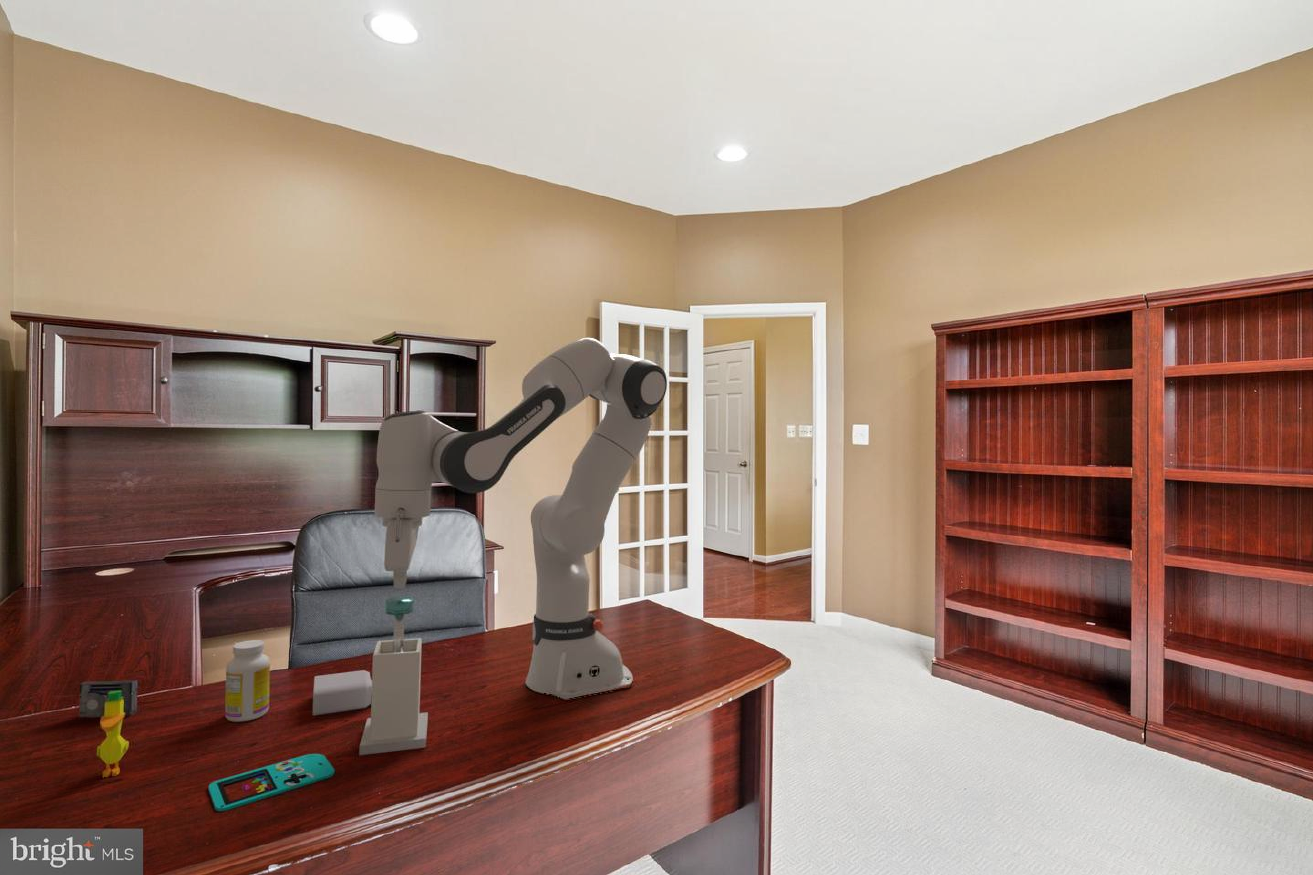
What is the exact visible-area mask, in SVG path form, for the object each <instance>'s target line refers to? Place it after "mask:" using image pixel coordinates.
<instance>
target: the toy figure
mask: <svg viewBox="0 0 1313 875" xmlns="http://www.w3.org/2000/svg"><path fill="white" fill-rule="evenodd" d="M121 693H122V691H121V690H118V691H112V692H109V693H108V697H109V699H106V700H105V701H106V702H105V712H104V716H102V717H100V721H99V723H100V725H99V726H100V728H101V729H102V730H103V731H104V732H105V734H106V738H105V739H104V740H103V741H102V742H101V744H100V745H99V746H97V747H96V757H99V758H100V759H101V760H102V761H103V762H104V763H105V764H106V765H105V766H106V767H105V768H106V769H104V770H103V771H102V778H103V779H104V777H106V778H109V777H110V776H112V777H116V776H118V775H119V774H120V773H121V772H120V771H121V770H120V767H119V761H121V759H122V758H123V756H124V755H125V753H126V752H127V751H128V749H129V746H130V741H128V740H126V739H125V738H123V737H122V736H121V730H122V725H123V720H124V718H125V717H126V716H125V713H124V712H123V708H124V700H123V698H124V697H122V696H121ZM113 764H114V768H112V769H111V767H110V766H111V765H113Z"/></svg>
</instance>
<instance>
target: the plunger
mask: <svg viewBox="0 0 1313 875" xmlns="http://www.w3.org/2000/svg"><path fill="white" fill-rule="evenodd" d="M414 600H415V599H414V597H412V596H408V595H407V596H406V595H405V596H404V595H402V596H392V597H389V598H387V599H385V614H386V615H390V616H393V617H394V618H393V640H394V641H393V653H396V652H403V644H404V639H405V636H404V635H405V634H404V633H405V615H407V614H412V613H413V612H414Z"/></svg>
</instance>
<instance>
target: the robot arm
mask: <svg viewBox="0 0 1313 875" xmlns="http://www.w3.org/2000/svg"><path fill="white" fill-rule="evenodd" d="M667 382H668V380H667V375H666V372H665V371H664V369H663V368H662V367H661V366H660V365H658V364H657V363H655V362H653V361H651V360H649V359H642V358H640V357H636V356H633V355H630V354H623V353H622V354H621V353H620V354H619V353H610V352H609V350H608V348H607V347H606V346H605V345H604V344H603V343H602V342H600V341H599V340H597V339H595V338H594V337H593V338H592V337H582V338H580V339H578V340H575V341H573V342H571V343H569V344H567V345H564V346H562V347H561V348H559V349H557V350H556V351H554V352H553V353H551V354H549V355H548V356H546V357H545V358H544V359H542V360H541V361H540V362H538V363H537V364H536V365H535V366H534V367H532V369H531V370H529V372H528V373H527V374H526V375H524V377H523V379H522V384H521V392H522V396H523V399H522V400H521V401H520V403H519V404H518V405H516V406H514V407H513V408H512V409H511V410H510V411H508V412H507V413H506V414H504V416H502V417H501V418H500V419H498V420H497V421H496V422H495V423H494V424H492V425H491V426H489V427H487V428H485V429H482V430H477V431H471V432H466V431H459V430H458V429H455V428H453V427H451V426H449V425H447V424H445V423H443V422H441V421H440V420H439V419H437V418H435V417H434V416H433V415H431V414H430V413H429V411H426V410H413V411H411V410H410V411H403V412H395V413H391V414H389V415H387V416H386V417H385V418H384V419H383V420H382V422H381V425H380V427H379V432H378V439H377V450H376V465H377V469H378V477H377V480H376V484H375V493H374V494H375V495H374V497H375V498H374V500H375V501H374V516H375V517H376V518H381V519H382V522H381V524H382V525H381V526H382V527H386V529H385V530H386V531H385V542H384V545H385V546H384V559H383V560H384V562H383V563H384V570H385V571H386V572H393V573H392V574H393V588H395V589H404V588H405V587H406V584H407V573H408V570H409V569H410V564H411V561H412V558H413V554H414V551H415V549H416V545H417V540H418V536H419V535H418V534H419V527H420V526H422V525H423V518H426V517H429V516H431V507H432V505H431V502H432V500H431V499H432V486H433V485H432V484H434V483H435V482H440V483H443V484H444V485H445V484H446V485H448V486H451V487H454V488H455V489H457V490H459V491H461V492H463V493H465V494H466V493H467V494H479V493H480V494H481V493H484V492H486V491H489V490H491V488H493V487H494V486H496V485H497V484H498V483H499V481H500V480H501V478H502V477H503V475H504V473H505V472H506V470H507V469H508V467H509V465H510V463H511V462H512V460H513V459H514V458H515V457H516V455H518V453H519V452H521V451H522V450H523V449H524V448H525V447H527V445H528V444H530V443H531V442H532V441H533V440H534V439H536V438H537V437H538V436H540V434H541V433H543V432H544V431H545V430H547V428H548V427H549V426H551V424H553V422H555V421H556V420H558V419H559V418H560V417H562V416H563V415H565V414H567V413H568V412H570V411H571V410H572V409H573V408H575V407H577V406H578V405H579V404H580V403H581V402H583V401H584V400H585V399H587V398H588V397H591V398H592V399H594V400H597V401H601V402H603V403H606V410H605V414H604V416H603V418H602V419H601V421H600V422H599V423H598V425H597V426H596V427H595V429H594V431H593V432H592V434H591V435H590V436H589V438H588V440H587V441H586V443H585V445H584V446H583V447H582V449H581V451H580V452H579V453H578V456H577V457H575V458H576V459H575V460H574V461H573V463H572V466H571V472H570V476H569V478H568V481H567V484H566V486H565V489H564V491H563V492H562V494H553V495H550V496H546V497H544V498H542V499H540V500H539V501H538V502H536V503H535V505H534V506H533V508H532V510H531V513H530V524H531V528H532V529H531V530H532V540H533V541H532V542H533V553H534V554H533V555H534V563H535V571H536V596H535V597H536V601H535V603H536V604H535V606H536V607H535V614H534V615H533V621H532V642H533V650H532V656H531V661H530V665H529V669H528V673H527V675H526V676H527V677H526V679H525V685H526V686H527V687H528V688H529V689H530V690H532V691H533V692H537V693H539V694H544V693H546V694H545V695H549V694H553V695H552V696H554V695H555V696H554V697H556V696H557V698H559V697H560V698H559V699H561V698H562V699H563V700H570V699H569V698H573V697H578V696H582V695H586V694H591V693H598V692H601V691H606V690H611V689H614V688H619V687H623V686H627V685H630V684H631V683H632V681H633V682H634V678H633V674H632V671H630V669H629V668H628V667H627V666H625V665H624V664H623V660H622V655H621V653H620V650H619V649H618V647H617V646H616V645H615V643H613V642H612V641H611V640H609V639H608V638H606V636H604V635H603V634H602V633H600V631H602V629H603V628H604V623H603V621H602V620H601V619H600V618H598V617H597V616H595V615H593V614H592V613H591V612H589V607H590V603H589V602H590V582H591V581H590V580H591V579H590V574H589V571H588V568H587V563H586V559H585V558H586V557H585V555H588V554H591V553H592V552H594V551H596V550H597V549H598V547H599V546H600V545H601V543H602V541H603V540H604V537H605V533H606V532H605V523H606V520H607V518H608V514H609V512H610V509H611V507H612V504H613V501H614V499H615V496H616V493H617V492H618V489H619V488H620V486H621V484H622V483H623V481H624V479H625V478H626V477H627V474H629V471H630V470H631V468H632V466H633V465H634V463H635V462H636V460H637V458H638V457H639V455H640V452H641V450H642V449H643V447H644V445H645V443H646V441H647V438H648V435H649V433H650V430H651V427H652V418H651V416H652V415H653V414H654V413H656V411H657V409H658V407H659V406H660V405H661V404H662V402H663V400H664V397H665V396H666V393H667V388H668V386H667V385H668V383H667ZM627 679H629V680H627ZM578 698H579V697H578ZM562 699H561V700H562ZM573 699H574V698H573Z"/></svg>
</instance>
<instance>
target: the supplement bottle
mask: <svg viewBox="0 0 1313 875" xmlns="http://www.w3.org/2000/svg"><path fill="white" fill-rule="evenodd" d="M264 649H265V642H264V641H263V640H259V639H253V640H252V639H251V640H245V641H241V642H237V643H235V644H234V645H233V646H232V654H233V655H234V657H233V658H231V659H230V660H229V661H228V662H227V664H226V667H225V698H224V699H225V701H224V702H225V703H224V705H225V707H224V708H225V709H224V712H225V713H224V716H225V718H226V719H227V720H228V721H231V722H232V723H233V722H235V723H236V722H237V723H238V722H239V723H240V722H247V721H251V720H252V721H253V720H255V719H258V718H260V717H262V716H265V714H266V713H268V711H269V707H270V679H271V678H270V677H271V676H270V675H271V674H270V671H271V664H270V663H271V662H270V657H269V656H268V655H266V654H265V653H263V652H264Z"/></svg>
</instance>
